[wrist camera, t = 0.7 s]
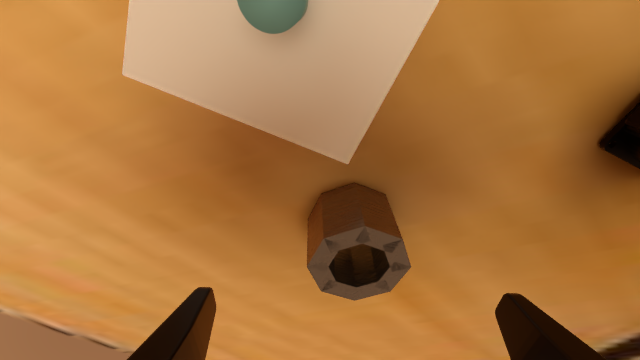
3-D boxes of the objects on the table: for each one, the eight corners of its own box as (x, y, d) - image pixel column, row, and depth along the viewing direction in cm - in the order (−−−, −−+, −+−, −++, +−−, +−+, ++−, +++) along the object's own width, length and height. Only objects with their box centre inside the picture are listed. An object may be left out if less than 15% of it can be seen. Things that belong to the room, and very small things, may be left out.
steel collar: (405, 202, 23) (427, 247, 18) (366, 256, 26) (377, 306, 21) (331, 174, 21) (336, 216, 17) (299, 234, 24) (296, 284, 20)
